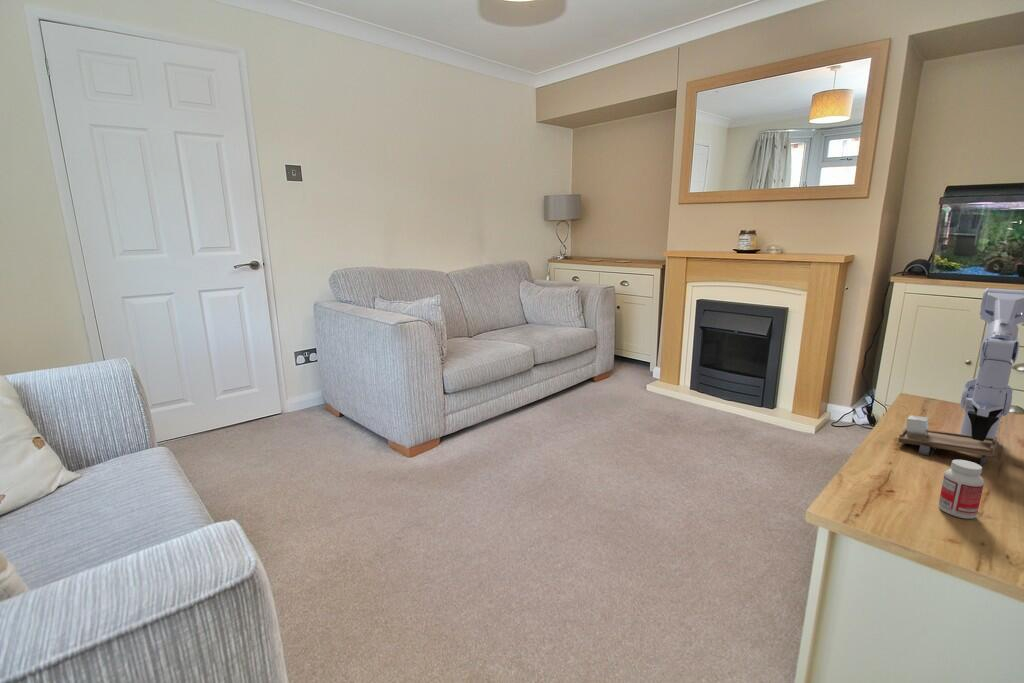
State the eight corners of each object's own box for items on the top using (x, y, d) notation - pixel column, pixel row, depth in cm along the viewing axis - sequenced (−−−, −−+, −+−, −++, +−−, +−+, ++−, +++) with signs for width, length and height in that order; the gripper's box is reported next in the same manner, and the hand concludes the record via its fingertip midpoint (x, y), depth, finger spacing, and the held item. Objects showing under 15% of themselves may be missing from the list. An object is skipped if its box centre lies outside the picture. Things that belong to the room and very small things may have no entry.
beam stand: (909, 436, 142) (911, 426, 141) (987, 455, 130) (989, 445, 129) (898, 449, 133) (900, 439, 132) (980, 471, 121) (983, 460, 120)
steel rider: (910, 432, 138) (910, 415, 137) (928, 434, 135) (928, 417, 134) (906, 436, 135) (906, 418, 134) (925, 438, 132) (925, 421, 131)
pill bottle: (980, 513, 103) (991, 466, 100) (971, 523, 99) (982, 474, 97) (943, 500, 108) (952, 455, 105) (933, 509, 104) (942, 462, 102)
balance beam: (907, 431, 141) (907, 425, 141) (997, 444, 127) (997, 436, 127) (898, 442, 134) (898, 435, 134) (992, 456, 120) (992, 448, 120)
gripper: (973, 376, 130) (963, 424, 133) (965, 387, 120) (954, 438, 123) (1010, 382, 124) (999, 431, 127) (1005, 394, 115) (993, 447, 118)
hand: (979, 435), depth 125 cm, fingers open, 7 cm apart
